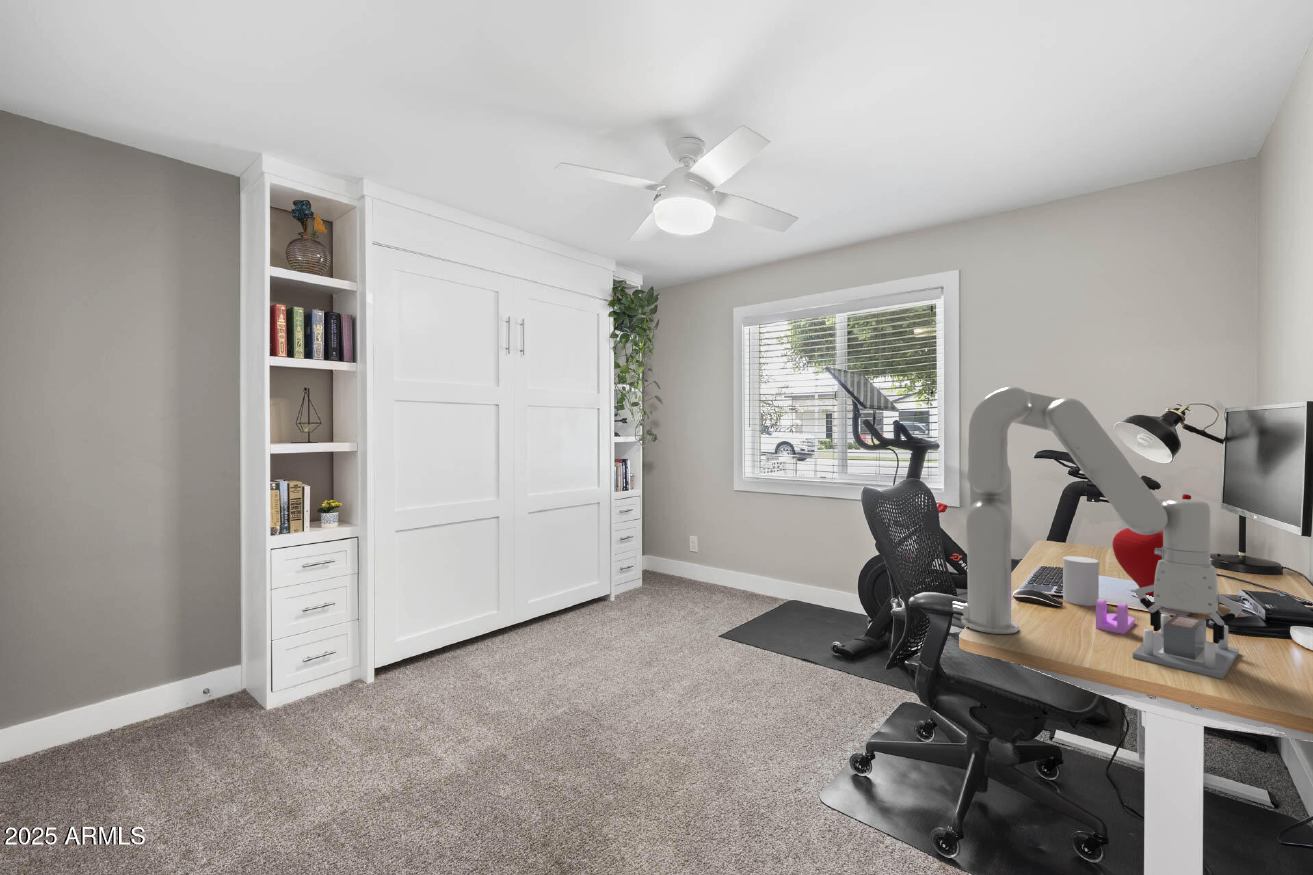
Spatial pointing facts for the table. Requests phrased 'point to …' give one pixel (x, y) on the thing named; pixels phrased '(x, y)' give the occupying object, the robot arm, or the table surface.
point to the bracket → (1113, 618)
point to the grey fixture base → (1209, 662)
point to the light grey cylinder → (1080, 580)
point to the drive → (1184, 636)
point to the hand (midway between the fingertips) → (1186, 635)
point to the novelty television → (1139, 554)
